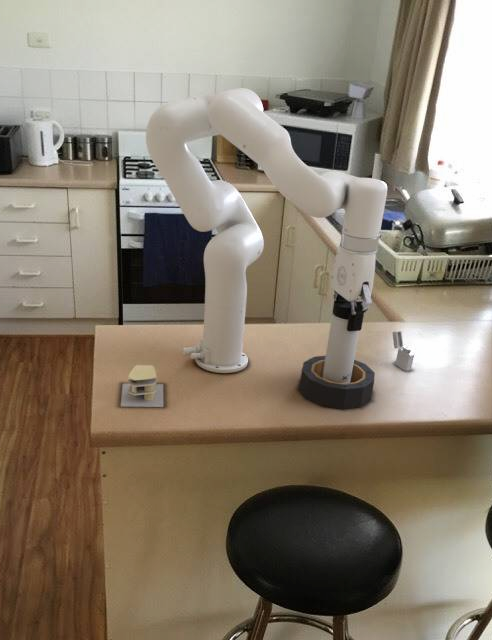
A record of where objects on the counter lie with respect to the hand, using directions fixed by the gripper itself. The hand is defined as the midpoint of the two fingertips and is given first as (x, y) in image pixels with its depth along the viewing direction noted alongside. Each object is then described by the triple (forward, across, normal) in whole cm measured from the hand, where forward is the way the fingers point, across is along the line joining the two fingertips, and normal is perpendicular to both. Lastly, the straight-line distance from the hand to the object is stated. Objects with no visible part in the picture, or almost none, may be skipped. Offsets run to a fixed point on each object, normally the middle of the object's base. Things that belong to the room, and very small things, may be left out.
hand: (346, 323), depth 150 cm
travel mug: (+15, 0, 0) cm, 15 cm away
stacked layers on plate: (+17, -7, -43) cm, 47 cm away
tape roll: (+17, 0, 0) cm, 17 cm away
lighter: (+17, -9, +22) cm, 29 cm away
